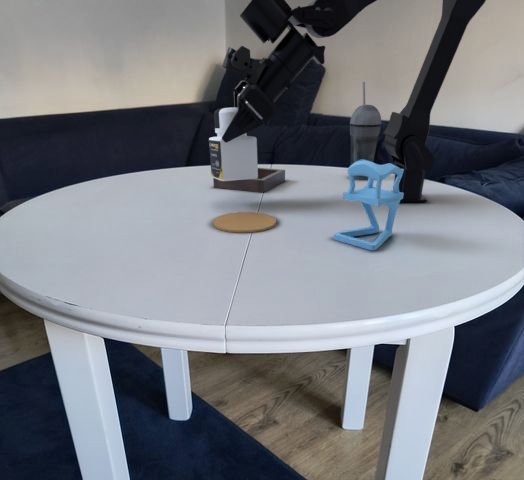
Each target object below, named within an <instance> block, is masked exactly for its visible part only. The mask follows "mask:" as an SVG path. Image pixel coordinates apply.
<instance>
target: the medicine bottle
mask: <svg viewBox="0 0 524 480" xmlns="http://www.w3.org/2000/svg"><path fill="white" fill-rule="evenodd" d="M237 110H238V107H236V108H233V107H221V108H218V109H216V110H215V111H214V112H213V118H214V119H213V120H214V133H215V134H216V136H212V137H209V138H208V148H209V149H208V150H209V159H210V160H209V161H210V174H211V175H210V176H211V178H212V179H213V178H215V179H218V180H221V181H233V180H245V179H256V178H258V168H259V166H258V163H259V162H258V138H257V137H256V136H253V135H247V133H248V132H247V133H245V134H243V135H241V136H239V137H237V138H235V139H233V140H231V141H229V142H227V143H225V142H224V141H223V140H222V136H223V135H224V133H225V131H226V129H227V128H228V126H229V124H230V122H231V121H232V119H233V117H234V115H235V114H236V112H237Z"/></svg>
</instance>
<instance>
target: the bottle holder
mask: <svg viewBox="0 0 524 480" xmlns="http://www.w3.org/2000/svg"><path fill="white" fill-rule="evenodd" d="M212 179H213V182H212V183H213V188H214V189H224V190H234V191H235V190H236V191H242V192H243V191H245V192H255V193H265V192H268V191H269V190H272V189H273V188H275V187H277V186H279V185H280V184H282V183H284V182H285V181H286V169H279V168H267V167H258V178H256V179H245V180H233V181H221V180H218V179H215V178H212Z"/></svg>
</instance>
